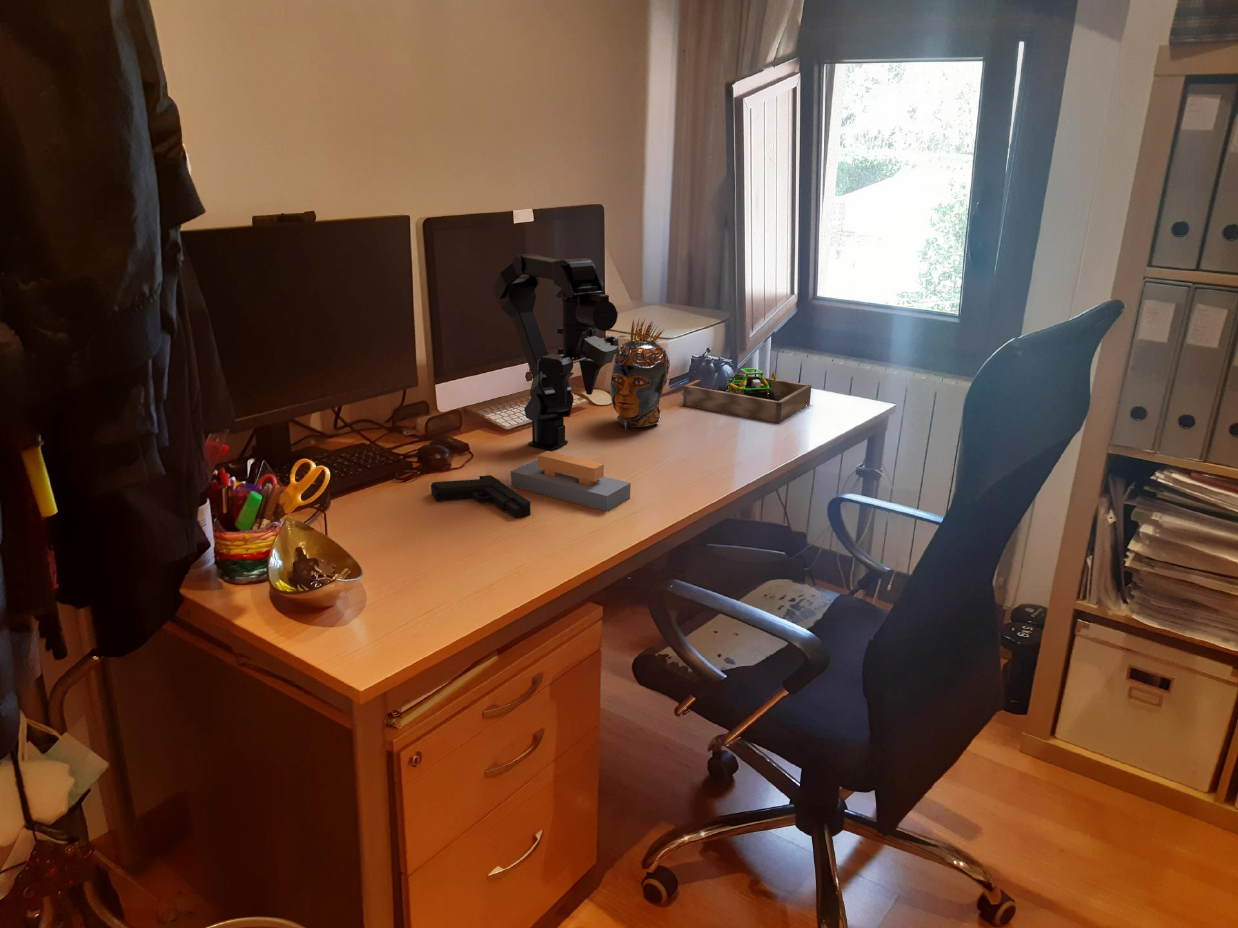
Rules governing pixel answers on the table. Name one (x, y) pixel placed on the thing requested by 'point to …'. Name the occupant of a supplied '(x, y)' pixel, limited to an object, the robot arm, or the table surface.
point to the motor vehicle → (752, 386)
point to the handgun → (483, 494)
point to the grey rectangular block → (571, 487)
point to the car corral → (750, 400)
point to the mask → (639, 379)
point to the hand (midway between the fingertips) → (576, 399)
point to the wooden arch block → (570, 467)
